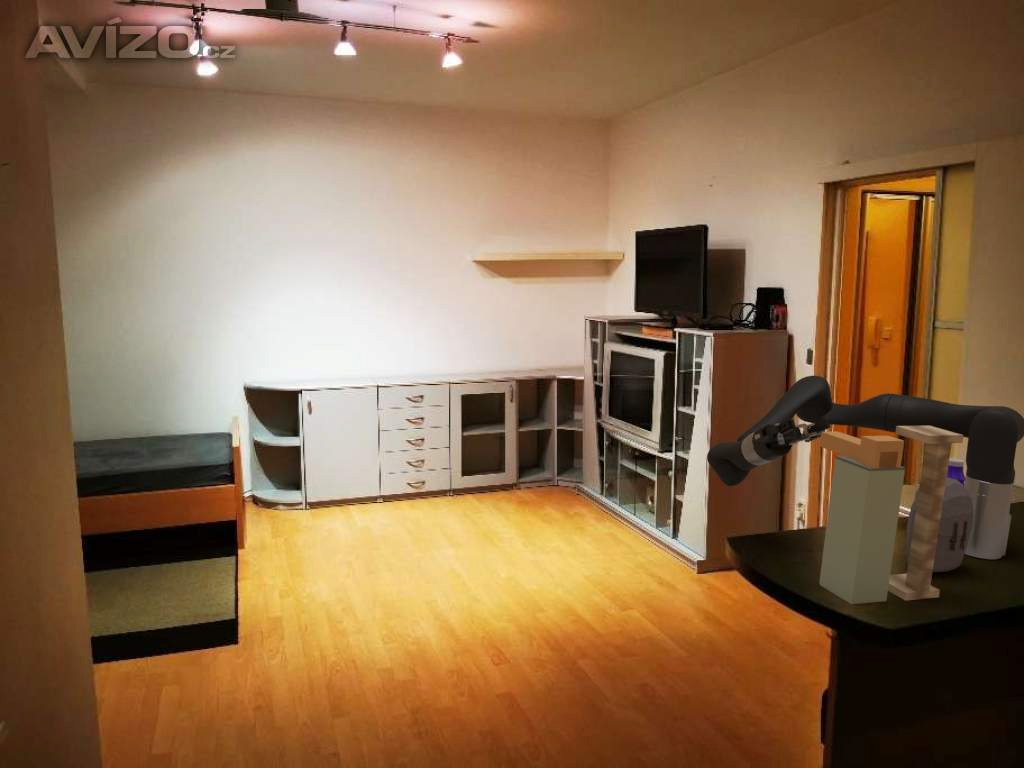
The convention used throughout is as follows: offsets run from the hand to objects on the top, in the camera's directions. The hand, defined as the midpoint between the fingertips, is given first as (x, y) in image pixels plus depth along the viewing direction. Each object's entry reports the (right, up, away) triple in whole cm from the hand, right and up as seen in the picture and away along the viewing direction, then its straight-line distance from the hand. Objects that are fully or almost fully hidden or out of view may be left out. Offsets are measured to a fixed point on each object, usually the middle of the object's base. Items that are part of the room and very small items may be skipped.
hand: (810, 422), depth 163 cm
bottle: (+45, -28, +32) cm, 62 cm away
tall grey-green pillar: (+4, -32, -11) cm, 34 cm away
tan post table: (+16, -32, -8) cm, 37 cm away
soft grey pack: (+28, -31, +3) cm, 42 cm away
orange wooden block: (+4, -6, -12) cm, 14 cm away
